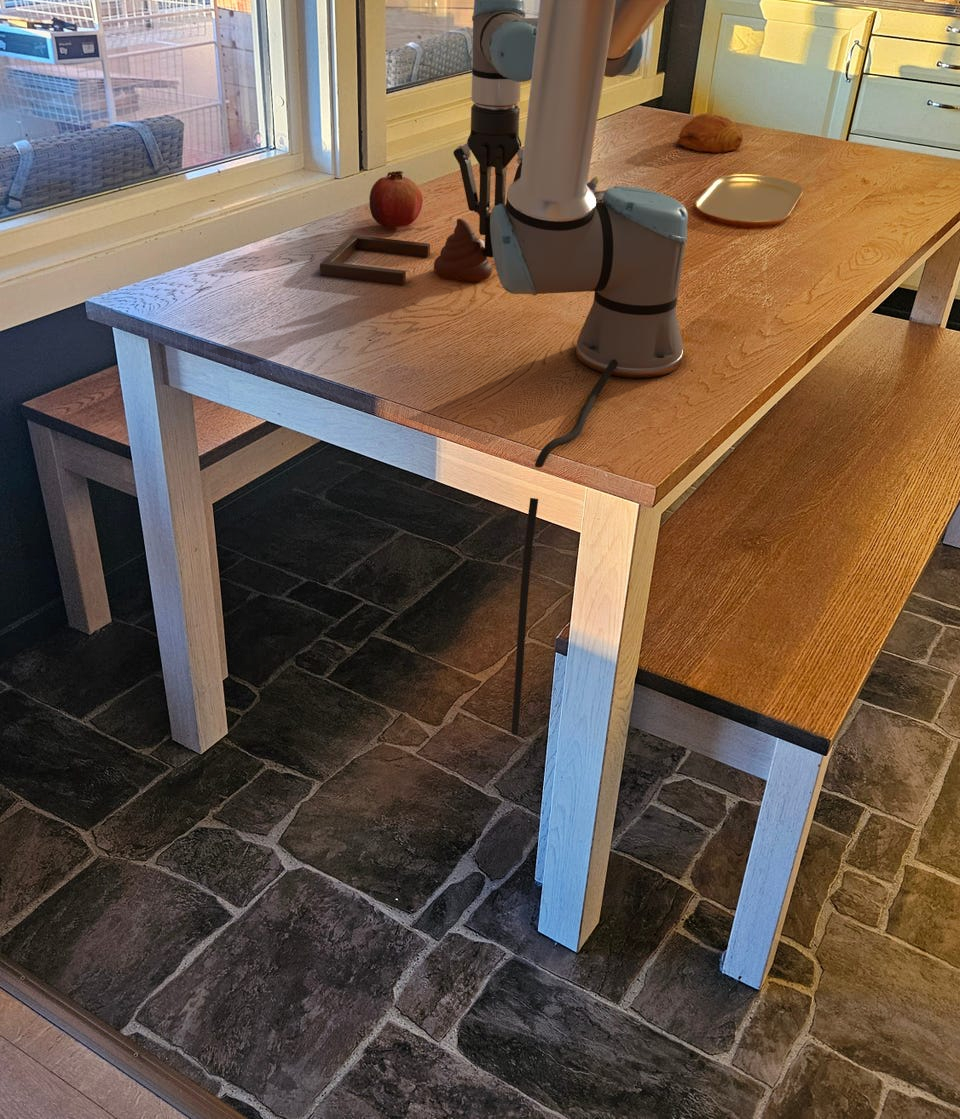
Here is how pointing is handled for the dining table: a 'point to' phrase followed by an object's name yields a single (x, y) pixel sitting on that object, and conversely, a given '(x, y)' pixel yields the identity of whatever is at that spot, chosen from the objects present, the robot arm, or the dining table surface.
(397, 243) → the dark brown u-shaped frame
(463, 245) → the poop emoji
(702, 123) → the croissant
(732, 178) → the serving platter
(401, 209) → the fruit
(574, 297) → the dining table surface
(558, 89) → the robot arm
